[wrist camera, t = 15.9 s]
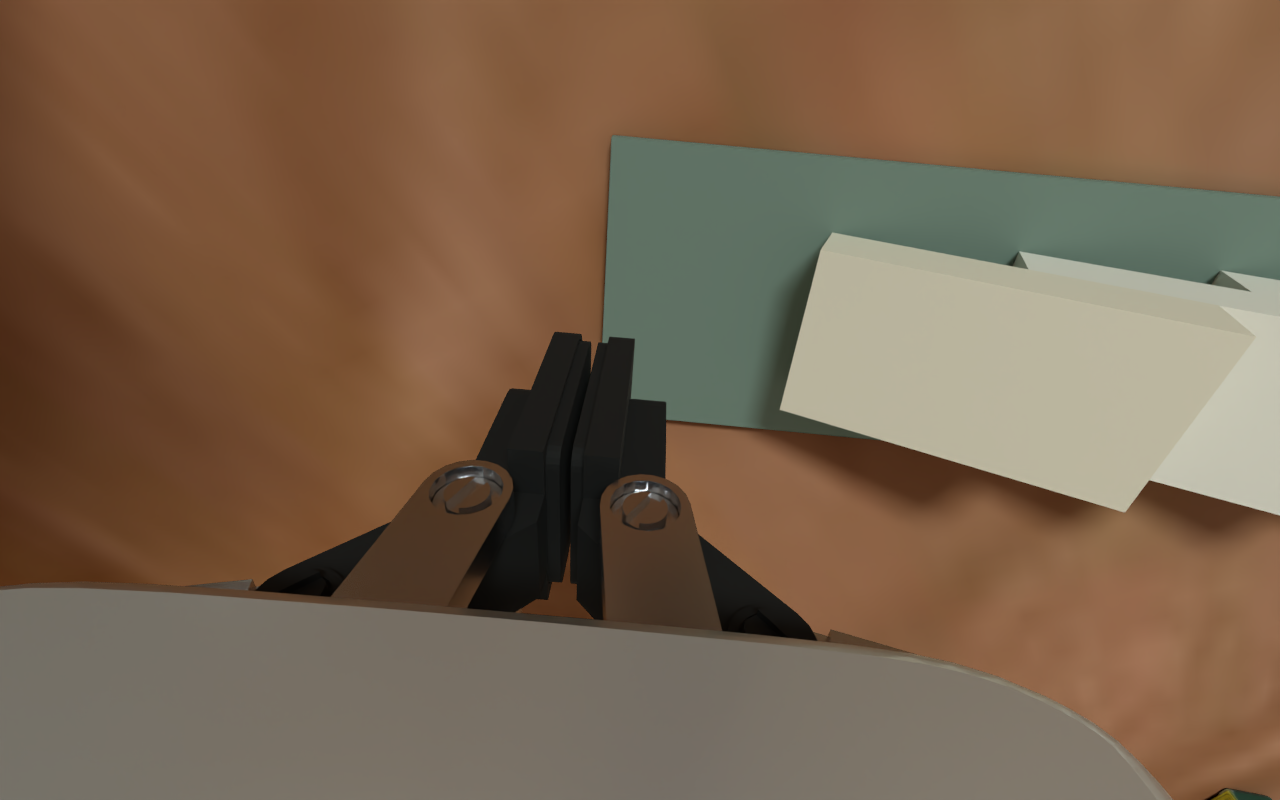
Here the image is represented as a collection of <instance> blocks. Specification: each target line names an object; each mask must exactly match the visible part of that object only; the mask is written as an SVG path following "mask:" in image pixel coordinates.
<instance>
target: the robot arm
mask: <svg viewBox="0 0 1280 800" xmlns="http://www.w3.org/2000/svg"><path fill="white" fill-rule="evenodd" d="M634 349H635V339H633V338H621V337H609V340H608V343H600V342H599V343H598V346H597V350H596V355H595V359H594V363H593V367H592V371H591V342H588V341H582V335H581V334H574V333H562V332H555V333H554V334H553V337H552V339H551V342H550V344H549V347H548V349H547V352H546V354H545V357H544V359H543V362H542V364H541V367H540V369H539V371H538V374H537V376H536V379H535V381H534V384H533V386H532V389H531V390H524V389H513V388H512V389H510V390H509V391H508V393H507V395H506V397H505V399H504V401H503V403H502V405H501V407H500V410H499V412H498V414H497V416H496V418H495V420H494V422H493V424H492V427H491V429H490V431H489V433H488V435H487V437H486V439H485V441H484V444H483V446H482V448H481V450H480V452H479V454H478V456H477V459H476V460H467V461H459V462H456V463H452V464H449V465H446V466H444V467H442V468H440V469H438V470H437V471H435V472H433V473H432V474H431V475H430V476H429V477H428V478H427V479H426V480H425V481H424V482H423V483H422V484H421V485H420V487H419V488H418V489H417V490H416V492H415V493H414V494H413V495H412V497H411V498H410V499H409V500H408V502H407V503H406V504H405V505H404V507H403V508H402V509H401V510H400V511H399V513H398V514H397V515H396V516H395V518H394V519H393V520H392V521H391V522H390V523H387V524H385V525H383V526H381V527H378V528H376V529H374V530H372V531H370V532H367V533H365V534H363V535H361V536H358V537H356V538H354V539H352V540H350V541H347V542H345V543H343V544H341V545H338V546H336V547H334V548H332V549H330V550H327V551H325V552H323V553H321V554H318V555H316V556H314V557H312V558H310V559H307V560H305V561H303V562H301V563H298V564H296V565H294V566H292V567H290V568H287V569H285V570H283V571H282V572H280V573H278V574H276V575H274V576H273V577H271V578H269V579H268V580H267V581H265V582H264V583H263V584H262V585H261V586H259V587H256V586H255V584H254V581H253V579H251V580H241V581H231V582H221V583H211V584H201V585H191V586H173V585H157V584H138V583H110V582H56V583H29V584H20V585H10V586H1V587H0V800H1173V799H1172V798H1171V797H1170V795H1169V794H1168V793H1167V792H1166V791H1165V789H1164V788H1163V787H1162V786H1161V785H1160V784H1159V782H1158V781H1157V780H1156V779H1155V778H1154V777H1153V776H1152V775H1151V774H1150V773H1149V772H1148V770H1147V769H1146V768H1145V767H1144V766H1143V765H1142V764H1141V763H1140V762H1139V761H1138V760H1137V759H1136V758H1135V757H1134V756H1133V755H1132V754H1131V753H1130V752H1129V751H1128V750H1127V749H1126V748H1125V747H1123V746H1122V745H1121V744H1120V743H1119V742H1118V741H1117V740H1116V739H1114V738H1113V737H1112V736H1110V735H1109V734H1108V733H1106V732H1105V731H1104V730H1102V729H1101V728H1100V727H1098V726H1097V725H1096V724H1094V723H1093V722H1091V721H1089V720H1088V719H1086V718H1084V717H1083V716H1081V715H1079V714H1078V713H1076V712H1074V711H1072V710H1071V709H1069V708H1067V707H1065V706H1063V705H1061V704H1059V703H1057V702H1055V701H1053V700H1052V699H1050V698H1048V697H1046V696H1043V695H1041V694H1039V693H1036V692H1034V691H1031V690H1029V689H1027V688H1024V687H1022V686H1019V685H1017V684H1015V683H1012V682H1010V681H1007V680H1005V679H1003V678H1000V677H998V676H995V675H992V674H989V673H985V672H982V671H979V670H976V669H972V668H969V667H966V666H963V665H960V664H956V663H953V662H949V661H944V660H939V659H935V658H930V657H925V656H921V655H917V654H914V653H910V652H907V651H903V650H900V649H896V648H893V647H890V646H886V645H883V644H879V643H876V642H872V641H869V640H865V639H862V638H859V637H855V636H852V635H848V634H845V633H841V632H838V631H834V630H830V632H829V634H828V636H825V635H822V634H818V633H815V632H813V631H812V630H811V628H810V626H809V625H808V624H807V623H806V622H805V621H804V620H803V619H802V618H801V617H800V616H799V615H798V614H797V613H796V612H795V611H793V610H792V609H791V608H790V607H788V606H787V605H786V604H785V603H783V602H782V601H781V600H780V599H778V598H777V597H776V596H775V595H773V594H772V593H771V592H770V591H768V590H767V589H766V588H765V587H763V586H762V585H761V584H760V583H758V582H757V581H756V580H755V579H753V578H752V577H751V576H750V575H748V574H747V573H746V572H745V571H743V570H742V569H741V568H740V567H738V566H737V565H736V564H735V563H733V562H732V561H731V560H730V559H728V558H727V557H726V556H725V555H723V554H722V553H721V552H720V551H719V550H717V549H716V548H715V547H714V546H712V545H711V544H710V543H709V542H707V541H706V540H705V539H704V538H702V537H701V536H700V535H699V534H698V532H697V528H696V524H695V520H694V516H693V512H692V508H691V504H690V502H689V500H688V497H687V495H686V494H685V493H684V492H683V491H682V489H681V488H680V487H679V486H677V485H676V484H674V483H672V482H671V481H669V480H667V479H665V463H666V402H664V401H653V400H641V399H631V390H632V376H633V362H634ZM570 542H571V553H570V581H571V583H573V584H577V601H578V602H579V603H580V604H581V605H582V606H583V607H584V608H585V609H586V610H587V612H588V613H589V614H590V615H591V616H592V617H593V618H594V619H595V620H594V619H582V618H571V617H559V616H548V615H537V614H525V613H522V608H523V607H524V606H526V605H528V604H529V603H531V602H532V601H534V600H536V599H544V600H548V597H549V592H550V588H551V584H552V582H562V580H563V577H564V572H565V567H566V562H567V557H568V552H569V547H570Z"/></svg>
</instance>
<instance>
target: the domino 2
mask: <svg viewBox="0 0 1280 800" xmlns="http://www.w3.org/2000/svg"><path fill="white" fill-rule="evenodd" d="M1013 267H1018V268H1023V269H1029V270H1034V271H1039V272H1045V273H1050V274H1055V275H1060V276H1066V277H1071V278H1076V279H1082V280H1087V281H1092V282H1098V283H1103V284H1108V285H1113V286H1119V287H1124V288H1129V289H1135V290H1140V291H1145V292H1151V293H1156V294H1161V295H1166V296H1172V297H1177V298H1182V299H1188V300H1193V301H1198V302H1204V303H1209V304H1214V305H1219V306H1220V307H1221V308H1222V309H1224V310H1225V311H1226V312H1227V313H1228V314H1230V315H1231V316H1232V317H1233V318H1234V319H1236V320H1237V321H1238V322H1239V323H1240V324H1242V325H1243V326H1244V327H1245V328H1246V329H1248V330H1249V331H1250V332H1251V333H1252V334H1254V335H1255V336H1256V338H1255V339H1254V341H1253V342H1252V343H1251V345H1250V346H1249V347H1248V349H1247V350H1246V351H1245V353H1244V354H1243V355H1242V357H1241V358H1240V359H1239V361H1238V362H1237V363H1236V365H1235V366H1234V368H1233V369H1232V370H1231V372H1230V373H1229V374H1228V376H1227V377H1226V378H1225V380H1224V381H1223V382H1222V384H1221V385H1220V386H1219V388H1218V389H1217V390H1216V392H1215V393H1214V394H1213V396H1212V397H1211V398H1210V400H1209V401H1208V402H1207V404H1206V405H1205V406H1204V408H1203V409H1202V410H1201V412H1200V413H1199V414H1198V416H1197V417H1196V418H1195V420H1194V421H1193V422H1192V424H1191V425H1190V426H1189V428H1188V429H1187V430H1186V432H1185V433H1184V434H1183V436H1182V437H1181V438H1180V440H1179V441H1178V442H1177V444H1176V445H1175V446H1174V448H1173V449H1172V450H1171V452H1170V453H1169V454H1168V456H1167V457H1166V458H1165V460H1164V461H1163V462H1162V464H1161V465H1160V466H1159V468H1158V469H1157V470H1156V472H1155V473H1154V474H1153V476H1152V477H1151V478H1150V480H1151V481H1154V482H1158V483H1162V484H1165V485H1169V486H1173V487H1177V488H1180V489H1184V490H1188V491H1191V492H1195V493H1199V494H1202V495H1206V496H1210V497H1214V498H1217V499H1221V500H1225V501H1228V502H1232V503H1236V504H1239V505H1243V506H1247V507H1251V508H1254V509H1258V510H1262V511H1265V512H1269V513H1273V514H1277V515H1280V297H1278V296H1272V295H1267V294H1261V293H1255V292H1249V291H1244V290H1238V289H1232V288H1226V287H1221V286H1215V285H1209V284H1204V283H1198V282H1192V281H1186V280H1181V279H1175V278H1169V277H1164V276H1158V275H1152V274H1146V273H1141V272H1135V271H1129V270H1123V269H1118V268H1112V267H1106V266H1101V265H1095V264H1089V263H1083V262H1078V261H1072V260H1066V259H1061V258H1055V257H1049V256H1043V255H1038V254H1032V253H1026V252H1021V251H1019V253H1018V255H1017V257H1016V260H1015V262H1014V264H1013Z"/></svg>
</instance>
